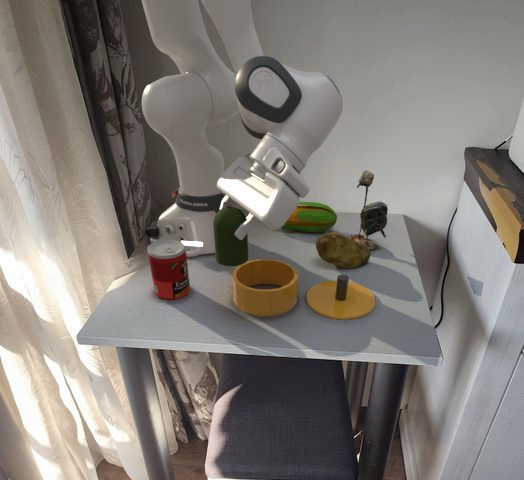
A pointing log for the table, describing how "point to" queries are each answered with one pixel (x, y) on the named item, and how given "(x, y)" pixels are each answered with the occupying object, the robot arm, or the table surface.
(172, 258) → the canned food
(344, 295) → the lid
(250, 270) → the pot
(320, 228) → the corn
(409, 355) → the table surface
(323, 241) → the potato
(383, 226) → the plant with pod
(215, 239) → the avocado
